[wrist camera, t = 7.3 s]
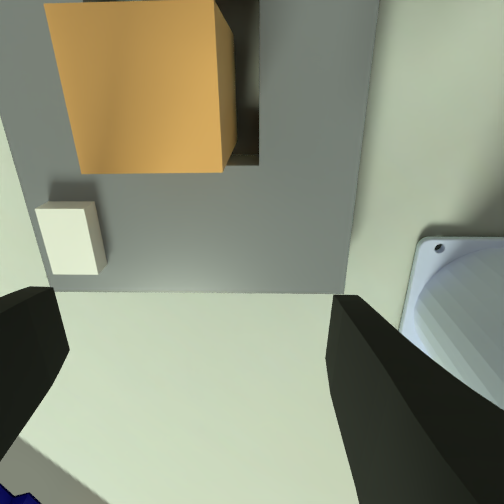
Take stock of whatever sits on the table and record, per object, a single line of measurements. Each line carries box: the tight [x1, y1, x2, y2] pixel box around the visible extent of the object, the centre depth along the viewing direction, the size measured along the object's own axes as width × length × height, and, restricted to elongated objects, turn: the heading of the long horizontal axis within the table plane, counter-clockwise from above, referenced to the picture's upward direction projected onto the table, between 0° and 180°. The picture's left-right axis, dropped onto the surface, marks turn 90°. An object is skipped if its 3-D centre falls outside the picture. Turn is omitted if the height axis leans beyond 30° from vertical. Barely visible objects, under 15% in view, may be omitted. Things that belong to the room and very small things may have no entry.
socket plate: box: [0, 0, 380, 294], centre depth 14 cm, size 14×18×4 cm
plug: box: [44, 0, 237, 174], centre depth 12 cm, size 4×4×7 cm
